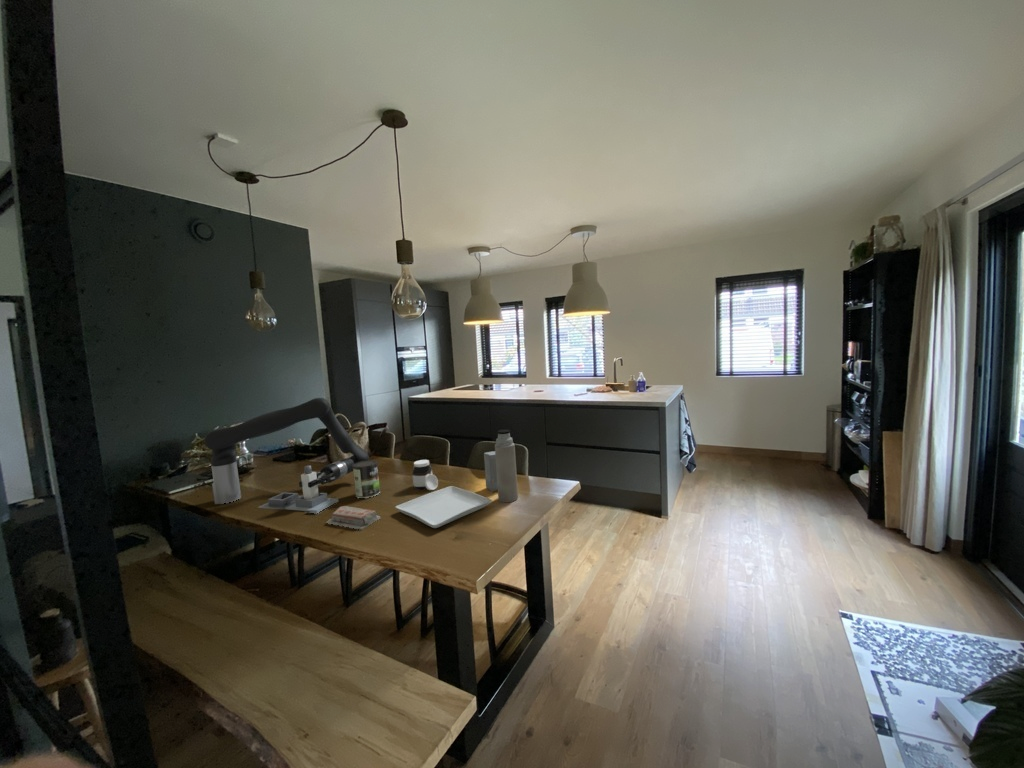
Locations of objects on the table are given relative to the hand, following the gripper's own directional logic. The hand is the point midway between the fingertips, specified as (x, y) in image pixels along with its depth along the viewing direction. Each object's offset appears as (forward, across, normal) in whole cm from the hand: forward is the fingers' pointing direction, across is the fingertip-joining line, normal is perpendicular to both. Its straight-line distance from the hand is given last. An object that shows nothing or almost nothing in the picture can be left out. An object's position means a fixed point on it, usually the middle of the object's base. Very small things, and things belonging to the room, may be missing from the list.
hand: (304, 484), depth 165 cm
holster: (-3, -16, +10) cm, 19 cm away
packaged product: (+6, +28, +11) cm, 31 cm away
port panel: (-3, 0, +10) cm, 11 cm away
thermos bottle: (-23, +79, +11) cm, 83 cm away
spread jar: (-30, +38, +11) cm, 50 cm away
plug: (-3, 0, +8) cm, 8 cm away
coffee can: (-19, +16, +11) cm, 27 cm away
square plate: (-8, +58, +11) cm, 60 cm away
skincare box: (-34, +71, +11) cm, 79 cm away
